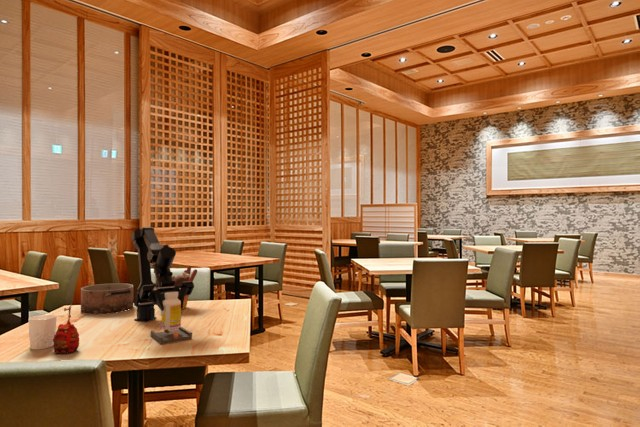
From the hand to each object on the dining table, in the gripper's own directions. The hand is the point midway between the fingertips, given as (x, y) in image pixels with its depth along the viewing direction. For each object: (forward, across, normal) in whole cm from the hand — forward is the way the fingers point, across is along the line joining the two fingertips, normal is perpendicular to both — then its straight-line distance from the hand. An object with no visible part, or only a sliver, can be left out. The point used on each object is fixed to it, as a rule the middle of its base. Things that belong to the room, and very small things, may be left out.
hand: (172, 309), depth 151 cm
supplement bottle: (+4, 0, -6) cm, 7 cm away
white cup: (-4, +38, -20) cm, 43 cm away
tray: (+7, 0, -8) cm, 11 cm away
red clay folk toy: (+4, +32, -12) cm, 35 cm away
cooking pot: (-39, +8, -56) cm, 69 cm away
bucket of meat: (-27, -17, -43) cm, 54 cm away
